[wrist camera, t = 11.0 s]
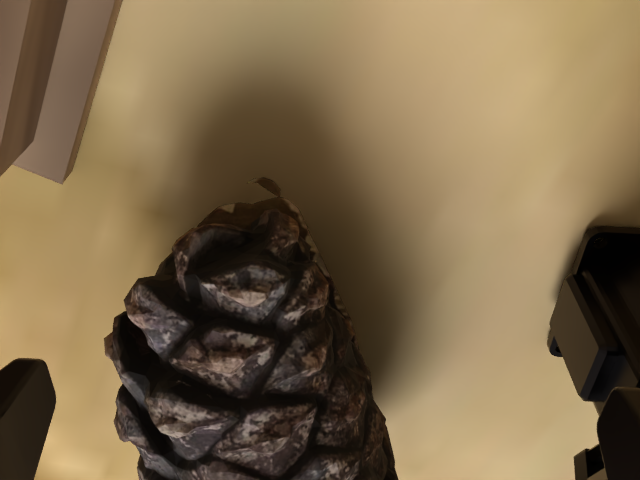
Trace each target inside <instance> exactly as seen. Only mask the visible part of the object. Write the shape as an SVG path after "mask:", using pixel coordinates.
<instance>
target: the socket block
mask: <svg viewBox="0 0 640 480" xmlns="http://www.w3.org/2000/svg"><path fill="white" fill-rule="evenodd" d="M121 3H122V0H0V176H1V175H2V174H3V173H4V172H5V171H6V170H7V169H8V168H9V167H10V166H11V165H15V166H17V167H20V168H22V169H25V170H27V171H30V172H32V173H35V174H37V175H40V176H42V177H45V178H47V179H50V180H52V181H55V182H57V183H60V184H63V182H64V181H65V180H66V178H67V177H68V176H69V174H70V173H71V172H72V170H73V166H74V163H75V160H76V156H77V153H78V149H79V146H80V143H81V139H82V136H83V132H84V129H85V126H86V122H87V119H88V115H89V112H90V109H91V105H92V102H93V98H94V95H95V92H96V88H97V85H98V81H99V78H100V75H101V71H102V68H103V64H104V61H105V58H106V54H107V51H108V47H109V44H110V41H111V37H112V34H113V30H114V27H115V23H116V20H117V17H118V13H119V10H120V6H121Z"/></svg>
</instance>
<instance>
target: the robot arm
mask: <svg viewBox="0 0 640 480" xmlns="http://www.w3.org/2000/svg"><path fill="white" fill-rule="evenodd" d="M602 237H603V239H602V240H601V241H600V242H596V243H594V242H595V240H596V239H598V238H602ZM550 327H551V332H550V335H549V337H548V340H547V346H548V348H549V351H550V353H551V354H552V355H554V356H557V357H563V359H564V361H565V364H566V366H567V368H568V371H569V373H570V376H571V378H572V381H573V383H574V386H575V388H576V391H577V393H578V395H579V396H580V397H581V398H582V400H583V401H591V402H593V403H594V405H595V408H596V410H597V412H598V415H599V418H598V422H597V435H598V440H599V444H598V445H596V446H594V447H593V448H591V449H587V448H586V449H585V450H583V451H582V452H580V453H578V454H577V455H575V456H574V466H575V480H640V228H628V227H608V226H598V227H594V228H591V229H590V230H588V231H587V232H586V234H585V235H584V237H583V240H582V243H581V246H580V249H579V251H578V254H577V257H576V260H575V263H574V266H573V269H572V272H571V274H569V275H568V276H567V277H566V278H565V279H564V282H563V285H562V288H561V291H560V294H559V297H558V300H557V303H556V305H555V308H554V311H553V314H552V317H551V320H550ZM55 404H56V394H55V390H54V387H53V383H52V380H51V377H50V374H49V371H48V367H47V365H46V363H45V362H44V361H43V360H42V359H32V358H18V359H15V360H13V361H12V362H10V363H9V364H8V365H6V366H5V367H4V368H2V369H1V370H0V480H34V477H35V474H36V470H37V467H38V463H39V460H40V457H41V453H42V450H43V446H44V443H45V440H46V436H47V433H48V430H49V426H50V423H51V419H52V416H53V413H54V409H55Z"/></svg>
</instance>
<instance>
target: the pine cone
mask: <svg viewBox="0 0 640 480" xmlns="http://www.w3.org/2000/svg"><path fill="white" fill-rule="evenodd" d="M248 183H258V184H260V185H261V186H263V187H264V188H266V189H267V190H269V191H270V192H272V193H273V194H275V195H276V196H278V197H276V198H272V199H268V200H264V201H260V202H257V203H255V204H246V203H235V204H230V205H225V206H220V207H218V208H217V209H215V210H214V211H213V212H212V213H211V214H209V215H208V216H207V217H206V218H205V219H204V220H203V221H202V222H201V223H200V224H199V225H198V226H197V227H196V228H192V229H191V230H189V231H188V232H187V233H185V234H184V235H183V236H182V237H180V238H179V239H178V240H177V241H176V242H175V244H174V246H173V247H172V251H173V252H172V253H171V254H170V255H169V256H168V257H167V258H166V259H165V260H164V261H163V262H162V263H161V264H160V265H159V268H158V270H157V273H156V275H155V276H150V277H144V278H138V280H137V281H136V282H135V284H134V285H133V287H132V288H131V290H130V291H129V293H128V294H127V296H126V298H125V299H124V303H125V307H126V311H124V312H123V313H121V314H119V315H118V316H116V317H115V318H114V323H113V332H112V333H110V334H109V335H108V336H107V337H105V338H104V344H105V355H106V356H107V357H109V358H110V359H111V360H112V361H113V363H114V365H115V367H116V370H117V372H118V374H119V376H120V379H121V381H122V383H123V384H122V386H121V387H120V389H119V391H118V394H117V398H116V401H115V402H116V406H117V411H116V416H115V419H114V424H115V427H116V430H117V433H118V435H119V438H120V440H122V441H123V442H127V441H131V442H132V443H133V444H134V445H135V446H136V447H137V449H138V451H139V453H140V457H139V461H138V466H137V470H138V476H139V480H398V477H397V474H396V471H395V468H394V467H395V460H394V455H393V451H392V446H391V442H390V438H389V434H388V430H387V427H386V425H385V421H386V418H385V417H384V415H383V414H382V412H381V411H380V409H379V408H378V406H377V405H376V403H375V402H374V400H373V396H372V386H371V378H370V371H369V369H368V367H367V366H366V365H365V363H364V360H363V357H362V355H361V354H360V352H359V347H358V343H357V339H356V335H355V332H354V328H353V325H352V322H351V319H350V317H349V315H348V313H347V311H346V309H345V307H344V305H343V303H342V300H341V298H340V296H339V294H338V292H337V290H336V288H335V286H334V284H333V281H332V279H331V277H330V275H329V273H328V271H327V268H326V266H325V264H324V262H323V260H322V258H321V256H320V253H319V251H318V249H317V247H316V245H315V244H314V242H313V240H312V238H311V235H310V233H309V231H308V228H307V226H306V224H305V222H304V219H303V217H302V215H301V213H300V211H299V209H298V208H297V207H296V206H295V205H294V204H293V203H291V202H290V201H289V200H287V199H284V198H281V197H280V188H279V187H278V186H277V185H276V184H275V183H274V182H273V181H271V180H269V179H266V178H255V179H252V180H251V181H249V182H248ZM315 261H316V262H315Z"/></svg>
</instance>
